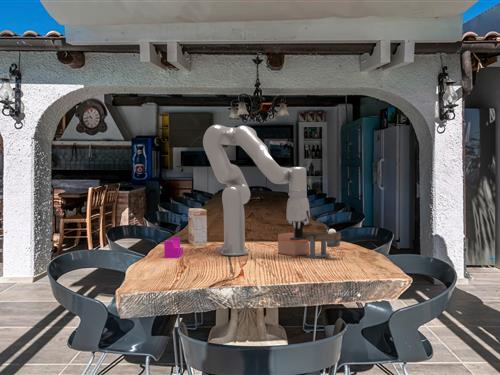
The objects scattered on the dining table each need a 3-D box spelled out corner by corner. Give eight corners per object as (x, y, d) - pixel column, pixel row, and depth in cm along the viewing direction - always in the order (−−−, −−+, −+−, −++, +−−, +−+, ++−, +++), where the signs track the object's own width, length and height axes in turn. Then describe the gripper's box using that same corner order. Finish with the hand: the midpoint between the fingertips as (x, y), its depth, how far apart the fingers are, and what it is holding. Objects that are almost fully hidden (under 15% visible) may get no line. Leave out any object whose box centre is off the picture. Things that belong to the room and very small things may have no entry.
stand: (315, 258, 201) (315, 236, 201) (306, 257, 205) (306, 235, 205) (329, 256, 208) (329, 234, 208) (320, 255, 212) (320, 234, 212)
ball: (333, 237, 198) (332, 229, 199) (326, 237, 201) (326, 229, 201) (338, 236, 201) (337, 228, 201) (331, 236, 203) (330, 228, 204)
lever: (322, 249, 192) (322, 234, 192) (285, 246, 207) (284, 233, 207) (341, 246, 201) (340, 232, 201) (304, 243, 216) (303, 230, 216)
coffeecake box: (188, 245, 250) (187, 208, 250) (201, 244, 252) (201, 208, 252) (193, 248, 236) (193, 209, 236) (207, 248, 238) (207, 209, 238)
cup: (295, 256, 209) (294, 235, 209) (278, 253, 217) (278, 234, 217) (309, 253, 216) (309, 234, 216) (292, 251, 224) (292, 232, 224)
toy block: (178, 258, 207) (178, 241, 207) (164, 258, 207) (164, 241, 207) (185, 253, 222) (185, 237, 222) (172, 253, 222) (172, 237, 222)
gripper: (279, 195, 209) (280, 236, 209) (306, 195, 198) (306, 239, 198) (290, 195, 214) (291, 235, 214) (317, 195, 203) (317, 237, 203)
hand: (298, 237), depth 206 cm, fingers closed
